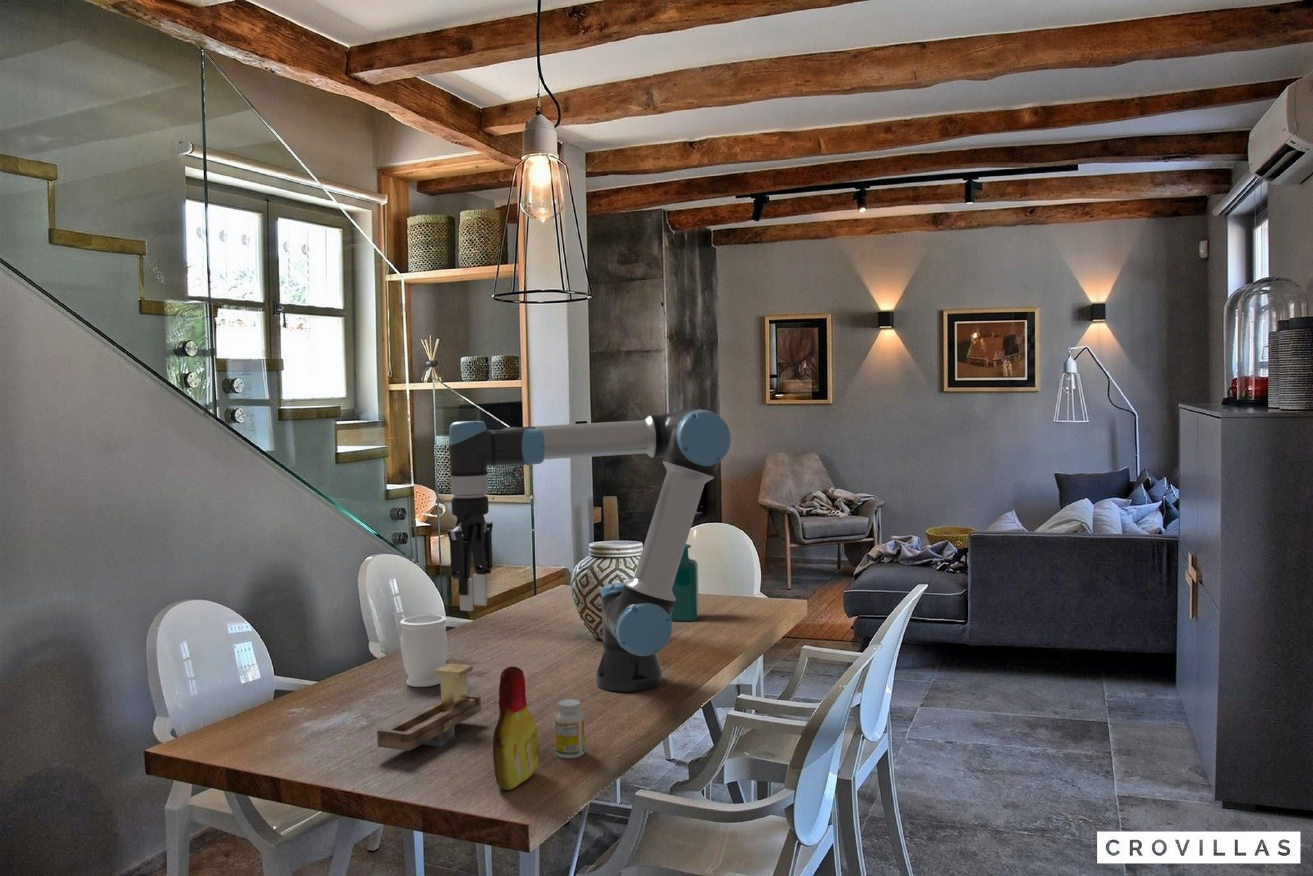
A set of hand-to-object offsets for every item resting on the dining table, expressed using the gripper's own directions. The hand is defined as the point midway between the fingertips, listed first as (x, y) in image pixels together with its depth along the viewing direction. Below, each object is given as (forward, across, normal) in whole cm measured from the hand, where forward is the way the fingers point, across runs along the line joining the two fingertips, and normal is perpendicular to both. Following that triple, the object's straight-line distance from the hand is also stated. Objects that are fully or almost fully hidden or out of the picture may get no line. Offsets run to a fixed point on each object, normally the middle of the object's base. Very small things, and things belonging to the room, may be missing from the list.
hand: (473, 607), depth 207 cm
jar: (+23, -17, -25) cm, 38 cm away
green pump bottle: (+23, -95, +10) cm, 98 cm away
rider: (+19, +8, 0) cm, 20 cm away
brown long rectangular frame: (+23, +16, 0) cm, 28 cm away
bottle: (+23, +29, +26) cm, 45 cm away
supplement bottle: (+23, +14, +29) cm, 40 cm away
